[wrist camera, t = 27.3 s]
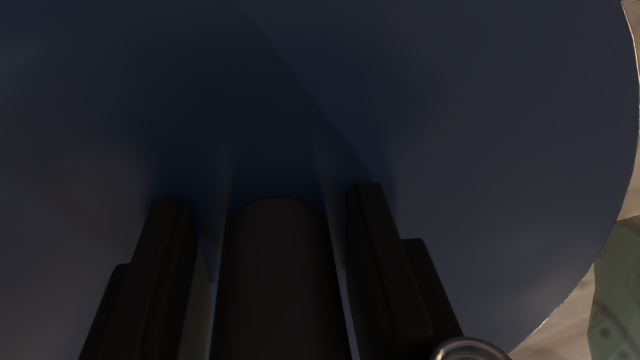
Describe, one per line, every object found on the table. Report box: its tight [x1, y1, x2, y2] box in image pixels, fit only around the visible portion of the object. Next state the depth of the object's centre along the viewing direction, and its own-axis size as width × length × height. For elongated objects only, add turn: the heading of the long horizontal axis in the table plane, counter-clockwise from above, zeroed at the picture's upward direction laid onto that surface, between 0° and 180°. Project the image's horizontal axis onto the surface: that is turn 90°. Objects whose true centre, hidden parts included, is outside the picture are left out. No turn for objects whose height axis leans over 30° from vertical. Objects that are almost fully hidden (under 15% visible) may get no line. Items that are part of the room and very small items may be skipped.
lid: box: [0, 0, 640, 360], centre depth 9 cm, size 16×16×6 cm
